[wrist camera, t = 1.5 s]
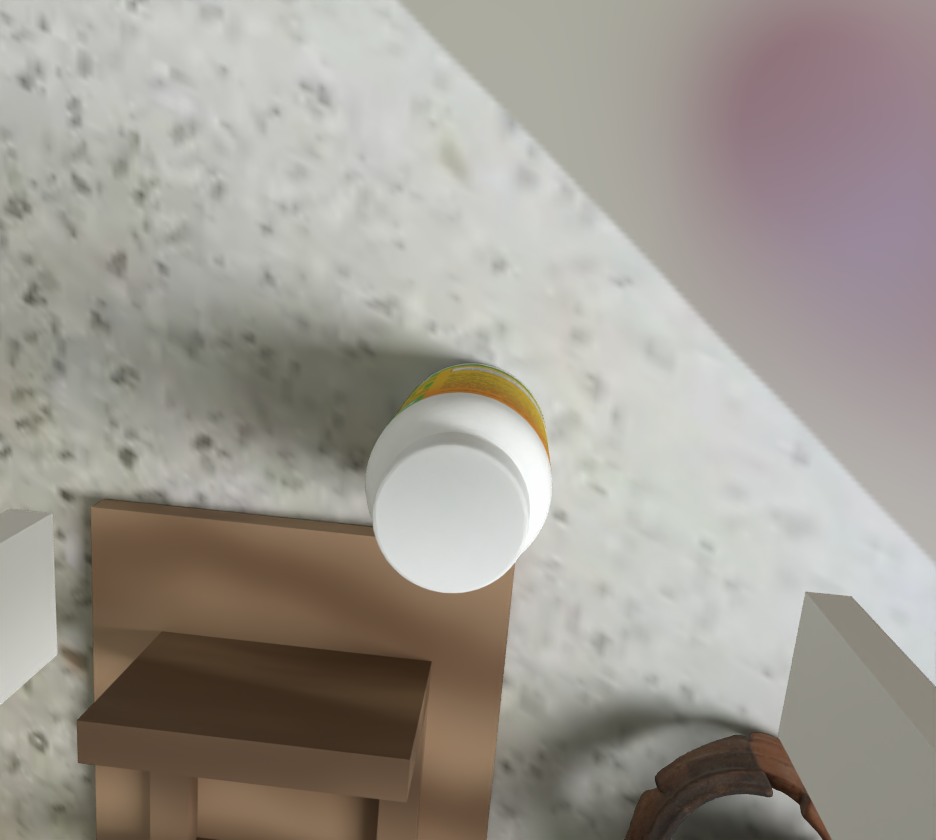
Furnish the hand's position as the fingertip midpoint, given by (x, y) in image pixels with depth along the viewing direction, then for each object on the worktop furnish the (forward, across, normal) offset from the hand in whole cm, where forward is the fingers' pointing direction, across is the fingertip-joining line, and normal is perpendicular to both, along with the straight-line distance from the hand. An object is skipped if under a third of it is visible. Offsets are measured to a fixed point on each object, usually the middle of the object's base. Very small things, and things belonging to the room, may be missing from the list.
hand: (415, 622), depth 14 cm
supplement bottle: (+16, 0, 0) cm, 16 cm away
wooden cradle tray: (+16, +6, +14) cm, 22 cm away
